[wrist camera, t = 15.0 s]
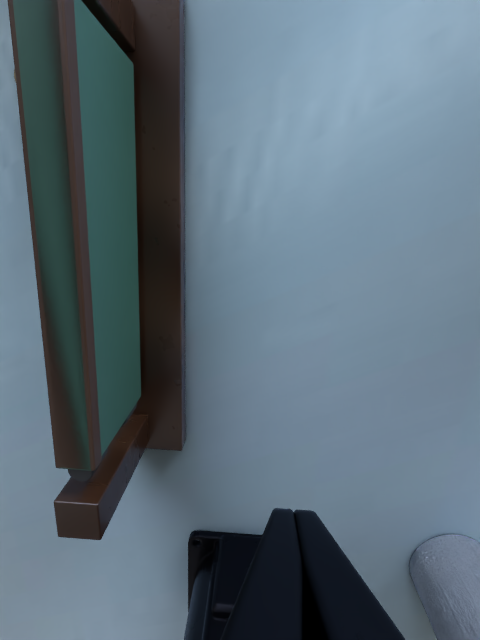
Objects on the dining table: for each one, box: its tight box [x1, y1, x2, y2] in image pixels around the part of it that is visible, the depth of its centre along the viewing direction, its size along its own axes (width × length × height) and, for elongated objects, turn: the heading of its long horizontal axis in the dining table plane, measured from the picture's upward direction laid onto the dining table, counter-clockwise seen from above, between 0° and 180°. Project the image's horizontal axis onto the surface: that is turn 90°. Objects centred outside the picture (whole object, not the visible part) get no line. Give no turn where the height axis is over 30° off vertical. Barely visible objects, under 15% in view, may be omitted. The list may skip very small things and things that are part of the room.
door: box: [8, 0, 141, 481], centre depth 13 cm, size 15×3×5 cm, turn 177°
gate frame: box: [54, 0, 186, 540], centre depth 14 cm, size 20×5×7 cm, turn 178°
